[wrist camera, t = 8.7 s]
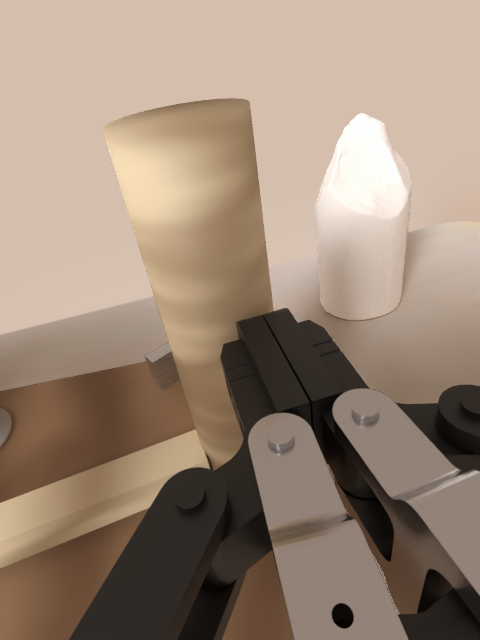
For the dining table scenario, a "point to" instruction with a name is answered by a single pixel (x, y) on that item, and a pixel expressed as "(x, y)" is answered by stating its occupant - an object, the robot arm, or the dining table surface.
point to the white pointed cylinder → (363, 223)
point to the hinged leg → (171, 305)
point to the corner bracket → (162, 366)
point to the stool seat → (108, 541)
